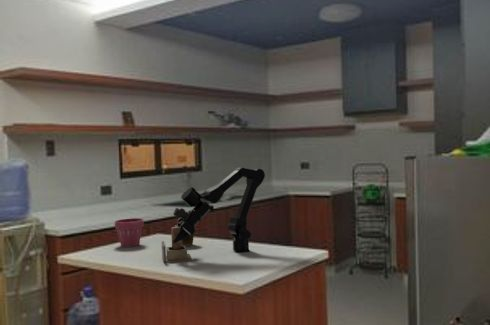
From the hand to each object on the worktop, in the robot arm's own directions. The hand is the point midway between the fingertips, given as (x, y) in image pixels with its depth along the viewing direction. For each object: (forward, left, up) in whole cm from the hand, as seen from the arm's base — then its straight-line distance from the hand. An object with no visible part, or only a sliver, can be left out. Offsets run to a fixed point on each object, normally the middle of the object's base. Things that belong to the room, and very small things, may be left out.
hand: (173, 240), depth 208 cm
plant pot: (+19, -41, -8) cm, 46 cm away
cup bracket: (-1, 0, -8) cm, 8 cm away
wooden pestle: (-1, 0, -8) cm, 8 cm away
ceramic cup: (-7, -29, -8) cm, 31 cm away
